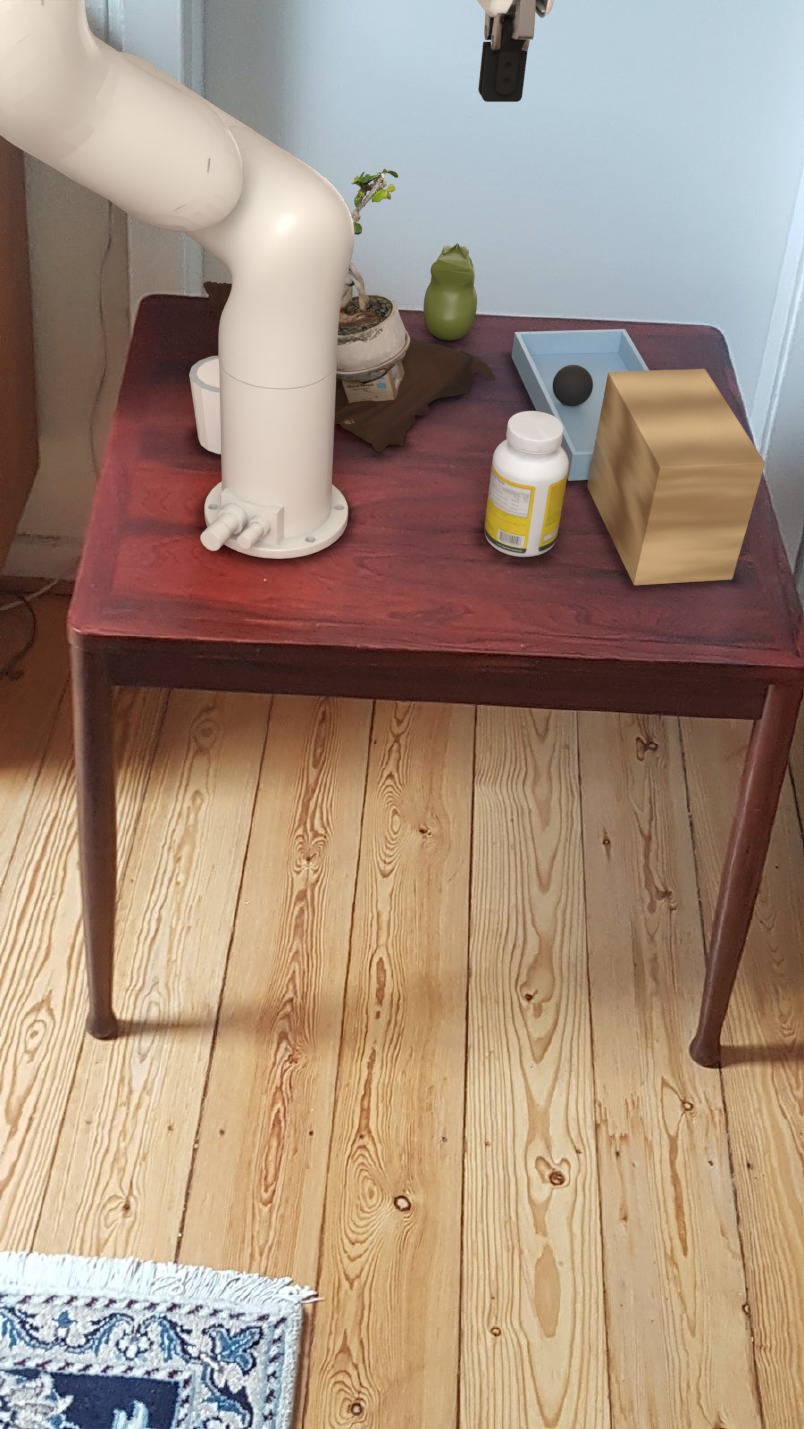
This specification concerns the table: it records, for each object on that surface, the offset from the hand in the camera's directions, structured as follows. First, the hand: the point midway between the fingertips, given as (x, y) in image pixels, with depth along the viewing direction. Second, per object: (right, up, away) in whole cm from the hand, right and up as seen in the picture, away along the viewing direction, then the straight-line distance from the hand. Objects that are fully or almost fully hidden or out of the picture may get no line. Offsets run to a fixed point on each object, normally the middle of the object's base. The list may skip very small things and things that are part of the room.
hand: (499, 97), depth 114 cm
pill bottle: (+3, -34, +13) cm, 36 cm away
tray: (+12, -19, +30) cm, 37 cm away
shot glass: (-24, -23, +22) cm, 40 cm away
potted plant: (-12, -16, +31) cm, 37 cm away
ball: (+9, -16, +29) cm, 34 cm away
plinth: (+15, -32, +15) cm, 39 cm away
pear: (-3, -9, +39) cm, 40 cm away
